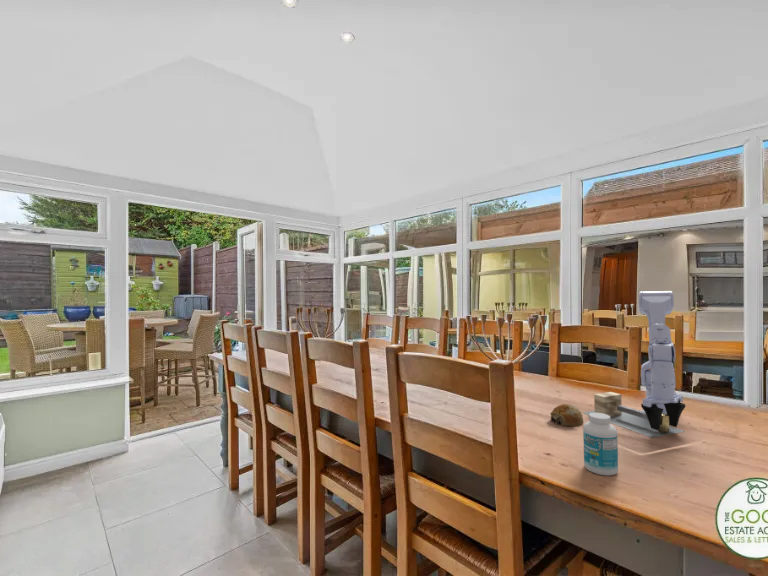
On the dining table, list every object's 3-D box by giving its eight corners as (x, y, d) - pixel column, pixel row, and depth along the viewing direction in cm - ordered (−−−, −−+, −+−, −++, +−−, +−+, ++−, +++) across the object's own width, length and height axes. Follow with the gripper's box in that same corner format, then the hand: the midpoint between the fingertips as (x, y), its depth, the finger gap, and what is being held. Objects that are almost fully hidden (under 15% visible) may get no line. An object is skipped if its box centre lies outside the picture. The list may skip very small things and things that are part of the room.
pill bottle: (577, 464, 98) (576, 411, 98) (605, 462, 99) (603, 410, 99) (596, 478, 91) (594, 420, 91) (625, 476, 91) (624, 419, 91)
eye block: (611, 411, 138) (611, 391, 138) (621, 414, 134) (621, 394, 134) (594, 413, 135) (594, 394, 136) (604, 417, 132) (603, 396, 132)
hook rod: (622, 416, 131) (622, 401, 131) (671, 432, 116) (671, 415, 116) (615, 417, 130) (615, 402, 130) (664, 433, 115) (664, 416, 115)
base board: (610, 409, 142) (610, 407, 142) (685, 433, 117) (685, 431, 117) (581, 414, 137) (581, 412, 137) (652, 439, 113) (652, 437, 113)
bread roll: (582, 439, 124) (593, 417, 123) (551, 424, 125) (561, 402, 125) (573, 428, 133) (583, 408, 133) (544, 415, 135) (554, 394, 135)
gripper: (658, 388, 111) (660, 435, 110) (692, 383, 115) (694, 428, 115) (635, 383, 117) (637, 427, 117) (668, 378, 122) (670, 421, 122)
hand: (663, 427), depth 116 cm, fingers open, 7 cm apart
